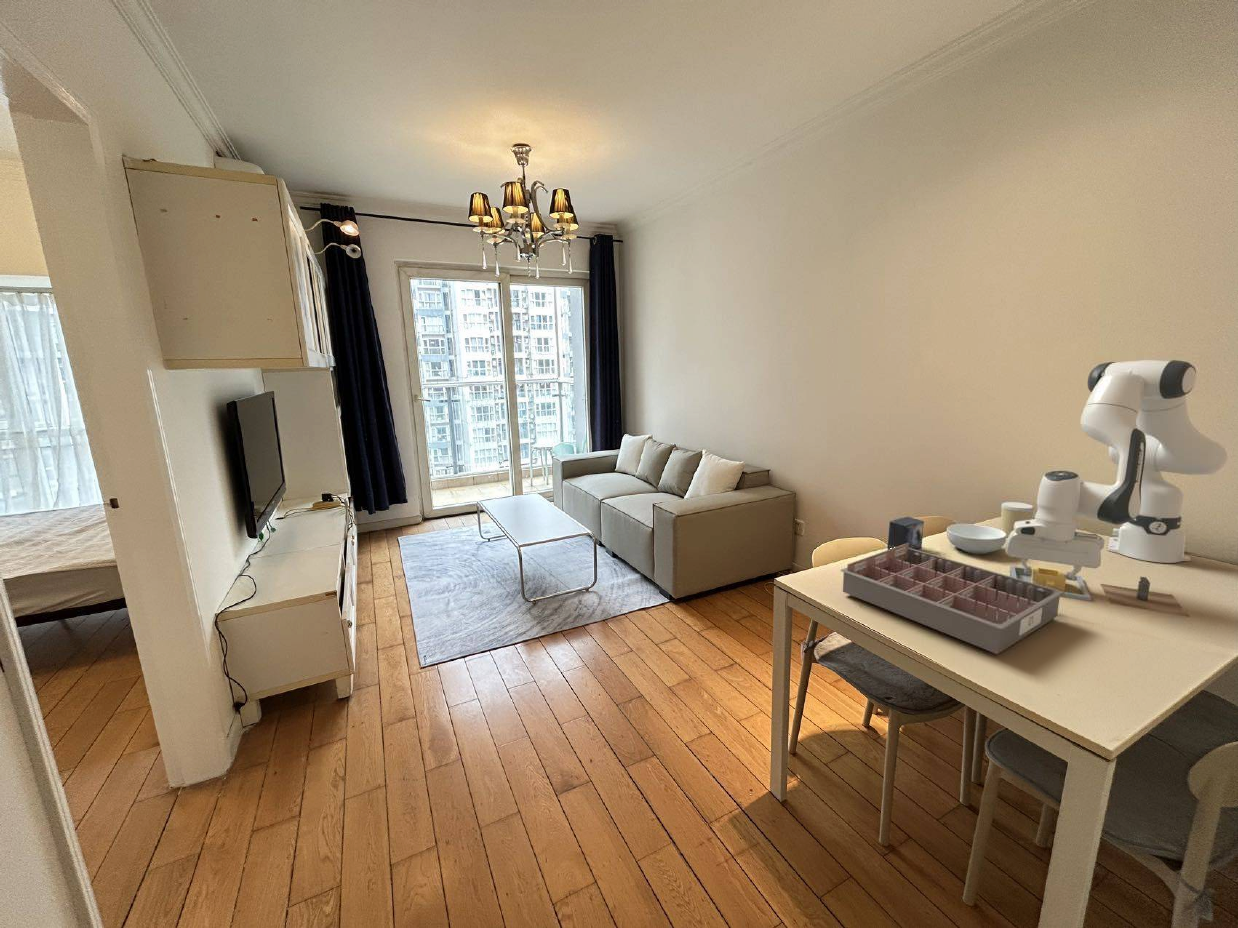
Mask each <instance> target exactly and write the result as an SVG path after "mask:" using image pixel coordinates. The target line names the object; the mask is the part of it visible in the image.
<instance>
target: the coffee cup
mask: <svg viewBox="0 0 1238 928" xmlns="http://www.w3.org/2000/svg"><path fill="white" fill-rule="evenodd" d="M1000 507H1001V513H1000V514H1001V515H1000V517H1001V518H1000V519H1001V520H1000V530H1001V531H1003V532H1005V533H1006V539H1008V537H1009V534H1010V533H1011V532H1012V531H1013V530H1014V523H1015V522H1017V521H1024V520H1032V518H1033V514H1034V510H1035V509H1034V505H1031V504H1028V503H1024V502H1016V501H1005V502H1002V503H1001V506H1000Z"/></svg>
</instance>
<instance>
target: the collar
mask: <svg viewBox="0 0 1238 928" xmlns="http://www.w3.org/2000/svg"><path fill="white" fill-rule="evenodd" d="M1031 568H1032V576H1031V582H1032V583H1035V584H1038V585H1042V586H1046V587H1049V588H1053V589H1056V590H1060V591H1063V592H1065V589H1066V582H1067V581H1066V580H1067V579H1066V577H1065V575H1064V574H1065V572H1064V571H1063V570H1062V569H1057V568H1056V569H1055V568H1049V567H1044V566H1043V567H1042V566H1035V565H1032V567H1031Z"/></svg>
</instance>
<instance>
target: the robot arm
mask: <svg viewBox="0 0 1238 928" xmlns="http://www.w3.org/2000/svg"><path fill="white" fill-rule="evenodd" d="M1196 381H1197V370H1196V368H1195V366H1194V365H1193V364H1192V363H1190V362H1188V361H1184V360H1176V359H1173V360H1159V359H1141V360H1128V361H1118V362H1115V361H1108V362H1104V363H1099V364H1098V365H1096V366H1095V367H1094V368H1093V369H1091V371H1090V372H1089V374H1088V377H1087V389H1088V390H1089V392H1090V394H1089V396H1088V399H1087V400H1086V403H1085V405H1084V407H1083V411H1082V413H1081V416H1080V421H1079V422H1080V428H1081V430H1082V431H1083V432H1084V433H1085V434H1086V435H1087V436H1089V438H1091V439H1093V440H1095V441H1096V442H1099V443H1101V444H1104V445H1106V446H1109V447H1108V451H1107V453H1108V456H1109V459H1110V460H1111V462H1112V463H1114V465H1116V466H1117V467H1118V468H1117V474H1116V481H1115V482H1114V483H1113V484H1111V485H1110V484H1102V483H1097V482H1090V481H1086V480H1081V478H1080V475H1079V473H1076V472H1075V471H1074V472H1073V471H1069V470H1068V471H1067V470H1054V471H1049V472H1046V473H1044V474H1043V476H1042V479H1041V480H1040V482H1039V487H1038V491H1037V498H1036V504H1037V505H1036V506H1037V509H1036V510H1037V511H1036V513H1035V514H1034V519H1031V520H1024V521H1017V522H1015V523H1014V530H1013V531H1012V532H1011V533H1010V534H1009V537H1008V538H1007V539H1006V543H1005V554H1006V556H1008V557H1012V558H1019V559H1020V562H1021V564H1022V567H1023V568H1024V573H1028V574H1031V570H1032V568H1033V567H1032V566H1031V565H1028V564H1027V563H1028V561H1029V560H1031V561H1040V562H1045V563H1054V564H1059V565H1060V564H1061V565H1068V566H1072V567H1073V569H1072V571H1067V572H1066V574H1067V575H1066V580H1068V581H1075V580H1074V577H1075V575H1076V576H1077V575H1078V573H1080V571H1082V567H1083V568H1089V569H1095V570H1096V569H1098V568H1100V567H1101V564H1102V563H1101V562H1102V553H1101V551H1102V550H1103V549H1104V547H1105V540H1104V538H1103V537H1101V536H1099V535H1098V534H1096V533H1086V532H1079V531H1077V526H1078V525H1077V523H1078V518H1077V516H1080V517H1084V518H1090V519H1095V520H1099V521H1101V522H1105V523H1109V524H1112V525H1116V526H1118V525H1120V527H1119V528H1116V527H1115V528H1113V529H1112V535H1113V536H1110V537H1109V540H1108V544H1107V548H1106V550H1107V551H1109V552H1112V553H1116V554H1120V555H1123V556H1125V557H1129V558H1133V559H1136V560H1141V561H1146V562H1152V563H1165V564H1174V563H1175V564H1176V563H1180V562H1190V561H1191V557H1190V556H1189V555H1186V554H1185V546H1186V534H1185V533H1184V532H1182V531H1181V530H1180V528H1181V526H1182V518H1183V517H1182V516H1181V512H1182V506H1183V499H1184V494H1183V492H1182V490H1181V488H1179V487H1178V486H1176V485H1174V484H1173V483H1171V482H1169V481H1167V480H1166V479H1165V478H1164V477H1163V475H1162V472H1165V473H1171V474H1172V473H1173V474H1180V475H1189V476H1192V475H1195V476H1196V475H1198V476H1200V475H1214V474H1216V473H1217V472H1219V471H1221V469H1222V468H1224V467H1225V465H1226V464H1227V461H1228V453H1227V450H1226V448H1225V447H1224V446H1223V444H1221V443H1220V442H1217V441H1214V440H1213V439H1210V438H1209V437H1207V436H1206V435H1204V434H1203V433H1201V432H1200V431H1199V430H1198V429H1197V428H1196V427H1195V425H1193V424H1192V422H1191V420H1190V417H1189V411H1188V406H1187V405H1188V404H1187V399H1186V396H1187V395H1188V394H1189V393H1190V392H1192V390H1193V389H1194V386H1195V384H1196Z"/></svg>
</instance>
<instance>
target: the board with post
mask: <svg viewBox="0 0 1238 928" xmlns="http://www.w3.org/2000/svg"><path fill="white" fill-rule="evenodd" d="M1139 579H1140V580H1139V581H1138V585H1137V588H1131V587H1125V586H1117V585H1109V584H1106V583H1105V584H1104V583H1100V584H1099V585H1100V586H1101V589H1102V590H1103V592H1104V594H1105V596H1106V597H1107V599H1108V601H1109V602H1110V604H1111V605H1112V604H1113V605H1118V606H1122V607H1123V606H1124V607H1129V608H1135V609H1141V610H1148V611H1154V612H1158V613H1159V612H1160V613H1164V614H1169V615H1177V616H1183V617H1188V618H1190V617H1191V616H1190V614H1189V613H1188V612H1187V611H1186V610H1185V608H1184V607H1183V606H1182V605H1181V603H1179V601H1178V600H1177V599H1176V597H1175V596H1174V595H1173V594H1169V593H1162V592H1156V591H1150V588H1151V587H1150V586H1151V582H1150V580H1149V579H1148V578H1147V577H1146V576H1140V577H1139Z"/></svg>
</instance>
